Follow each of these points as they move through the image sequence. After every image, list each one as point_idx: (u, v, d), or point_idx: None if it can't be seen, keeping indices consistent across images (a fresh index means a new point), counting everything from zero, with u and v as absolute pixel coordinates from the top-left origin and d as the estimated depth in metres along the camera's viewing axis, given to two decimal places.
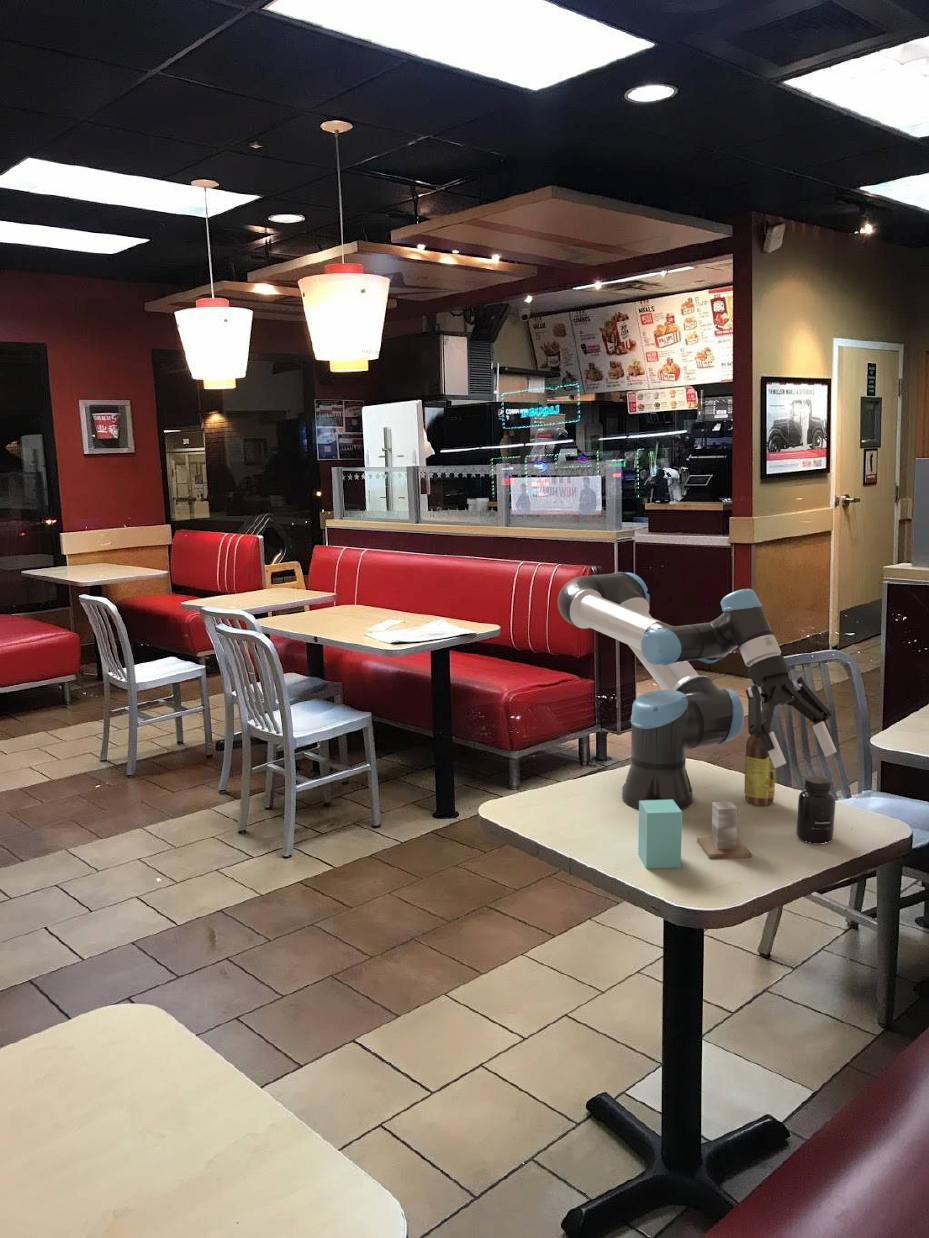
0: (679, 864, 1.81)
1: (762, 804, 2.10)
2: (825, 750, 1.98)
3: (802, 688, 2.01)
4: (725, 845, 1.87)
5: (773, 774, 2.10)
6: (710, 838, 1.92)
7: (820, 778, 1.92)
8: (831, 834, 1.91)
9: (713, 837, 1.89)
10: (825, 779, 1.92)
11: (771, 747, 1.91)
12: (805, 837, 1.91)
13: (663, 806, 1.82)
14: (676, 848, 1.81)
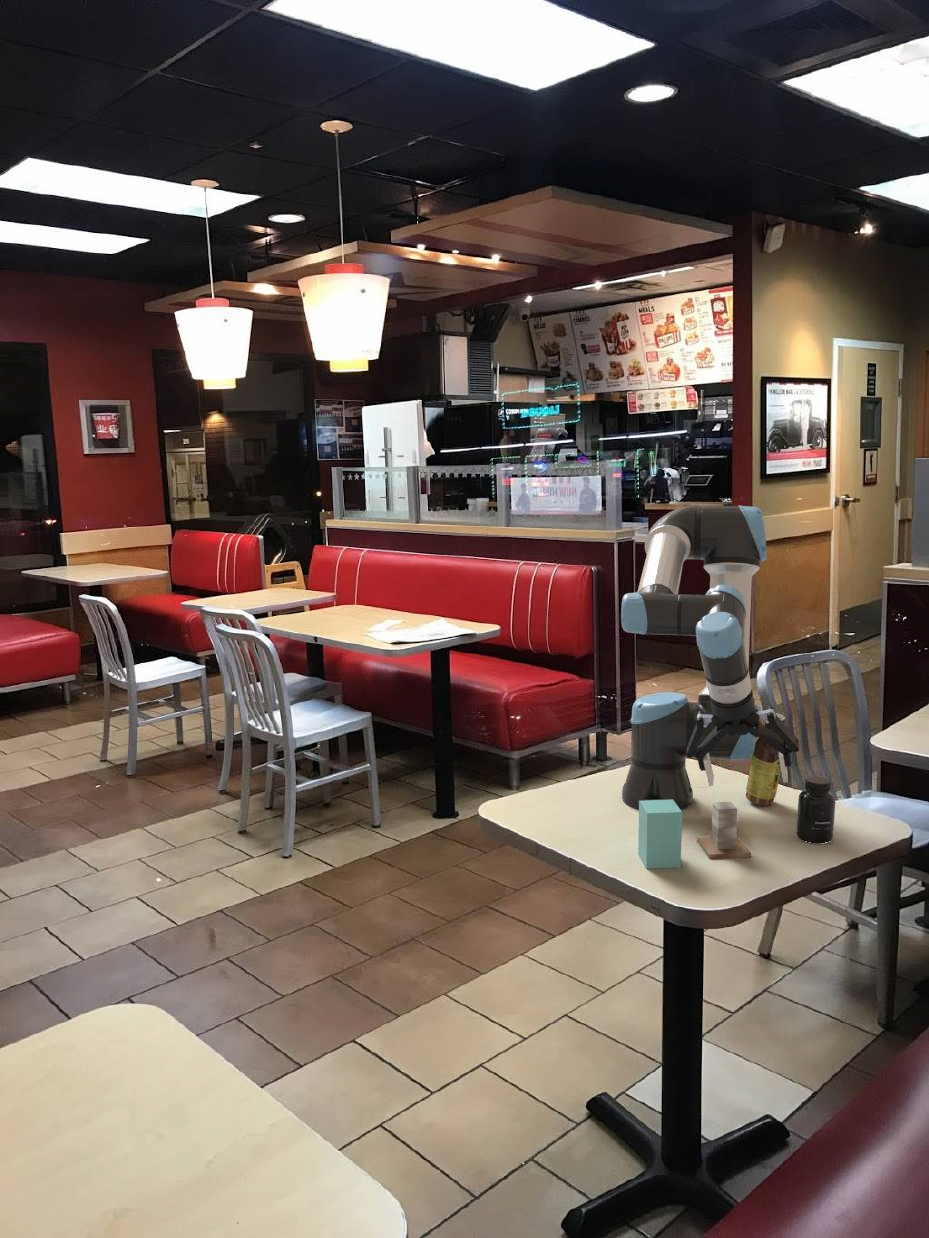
0: (679, 864, 1.81)
1: (762, 804, 2.10)
2: None
3: (769, 723, 1.77)
4: (725, 845, 1.87)
5: (778, 777, 2.09)
6: (710, 838, 1.92)
7: (820, 778, 1.92)
8: (831, 834, 1.91)
9: (713, 837, 1.89)
10: (825, 779, 1.92)
11: (702, 769, 1.88)
12: (805, 837, 1.91)
13: (663, 806, 1.82)
14: (676, 848, 1.81)
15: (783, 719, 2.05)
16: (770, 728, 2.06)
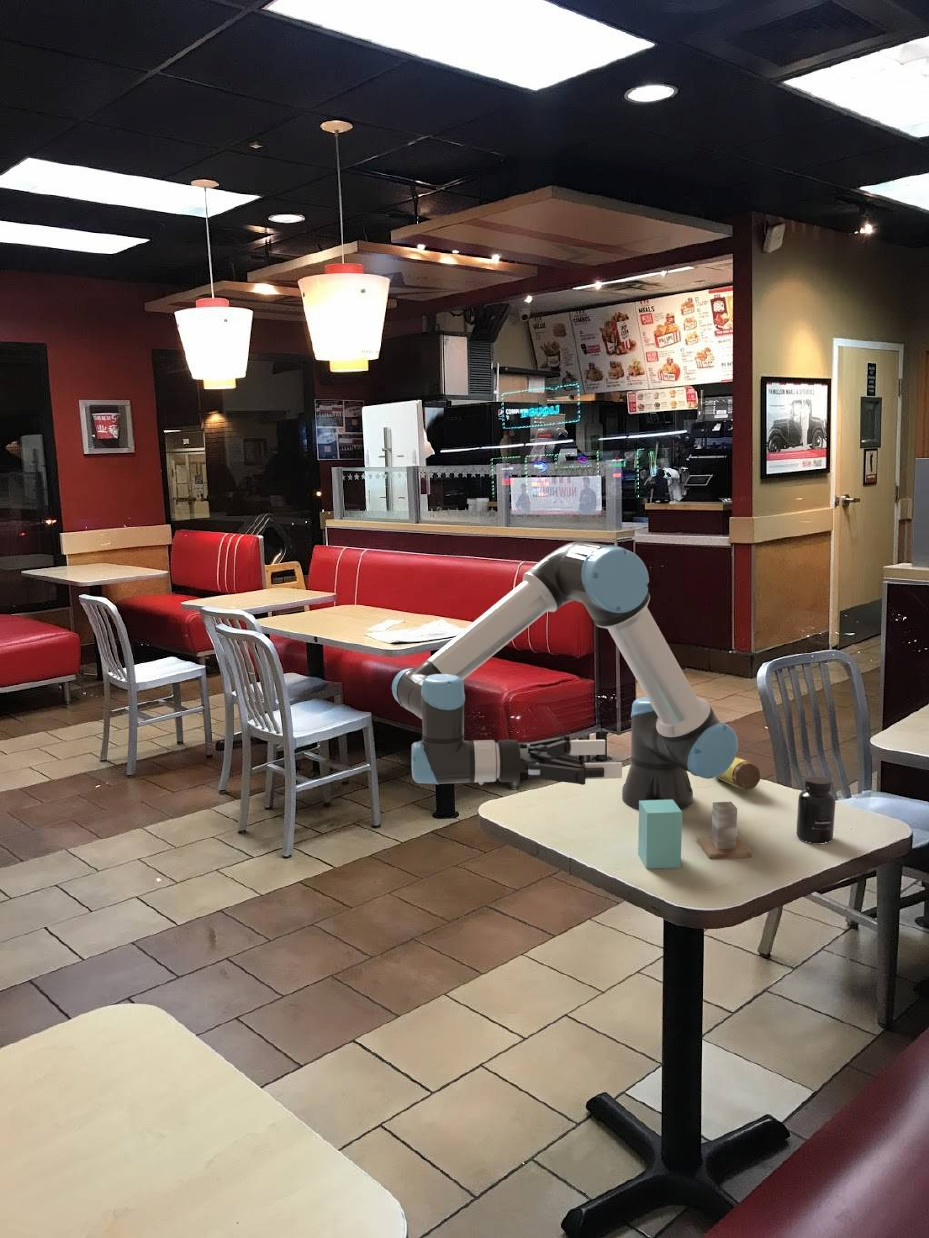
0: (679, 864, 1.81)
1: (742, 764, 2.16)
2: None
3: None
4: (725, 845, 1.87)
5: None
6: (710, 838, 1.92)
7: (820, 778, 1.92)
8: (831, 834, 1.91)
9: (713, 837, 1.89)
10: (825, 779, 1.92)
11: None
12: (805, 837, 1.91)
13: (663, 806, 1.82)
14: (676, 848, 1.81)
15: None
16: None
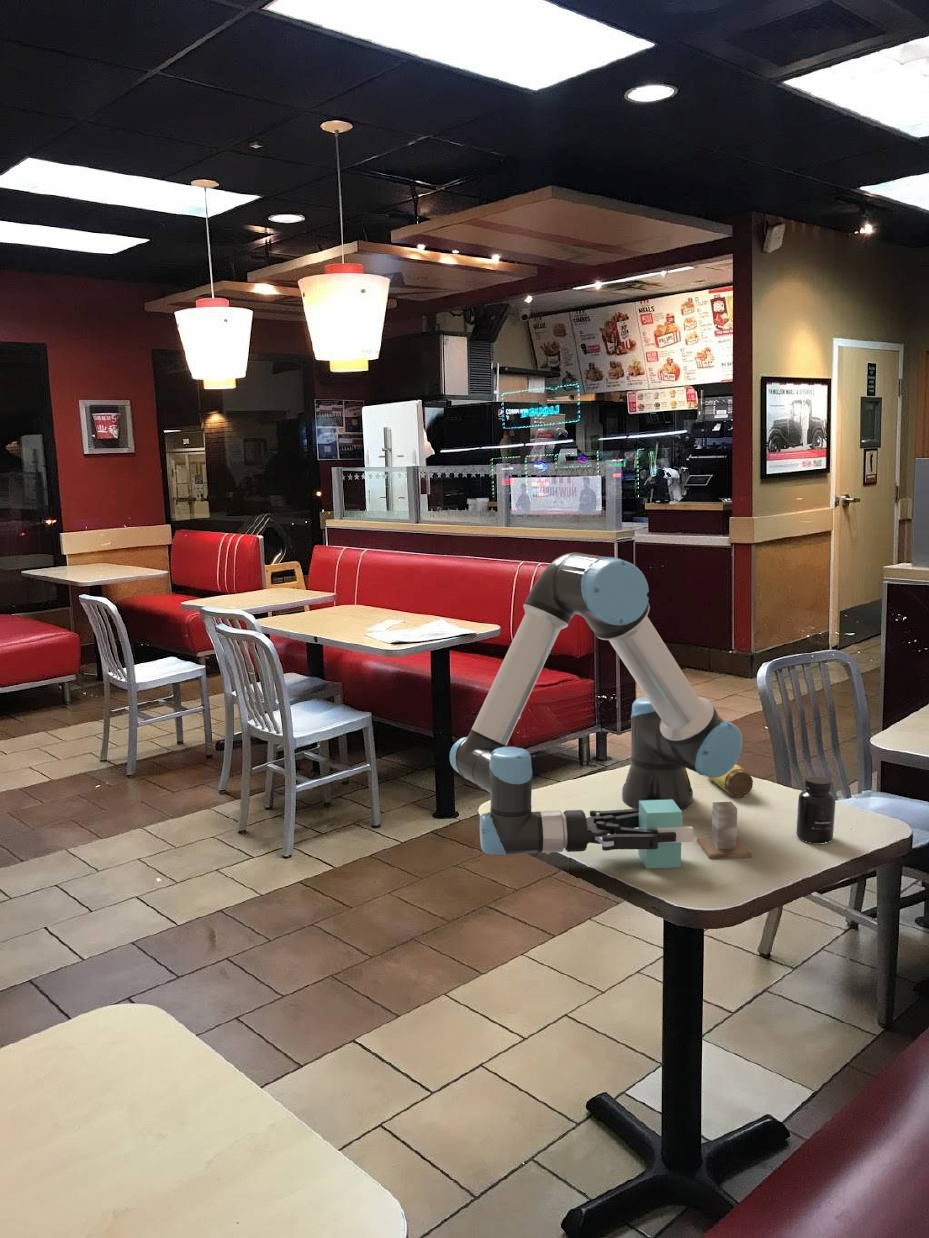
0: (679, 864, 1.81)
1: (730, 778, 2.15)
2: None
3: None
4: (725, 845, 1.87)
5: None
6: (710, 838, 1.92)
7: (820, 778, 1.92)
8: (831, 834, 1.91)
9: (713, 837, 1.89)
10: (825, 779, 1.92)
11: None
12: (805, 837, 1.91)
13: (663, 806, 1.82)
14: (676, 848, 1.81)
15: None
16: None
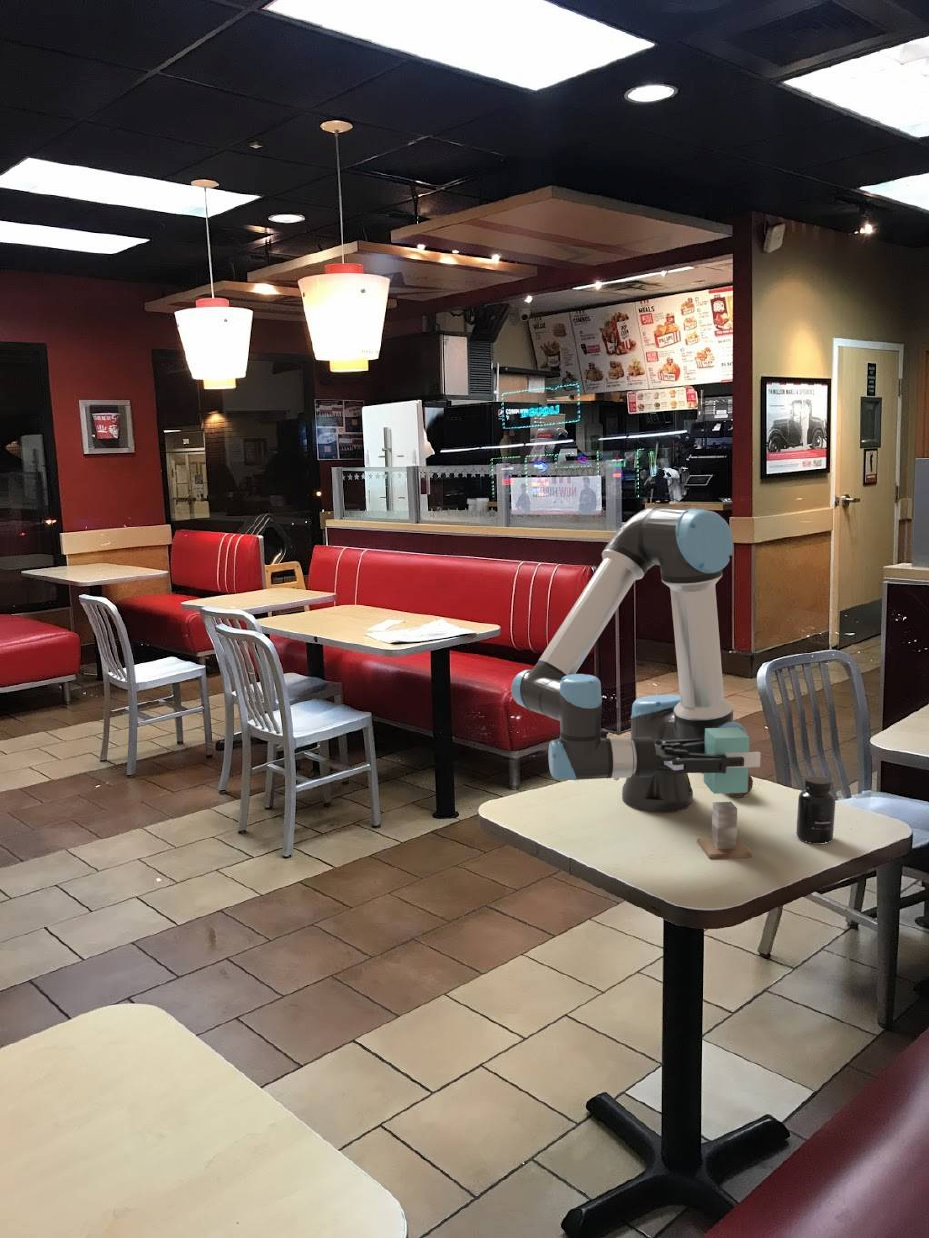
0: (746, 789, 1.84)
1: None
2: None
3: None
4: (725, 845, 1.87)
5: None
6: (710, 838, 1.92)
7: (820, 778, 1.92)
8: (831, 834, 1.91)
9: (713, 837, 1.89)
10: (825, 779, 1.92)
11: None
12: (805, 837, 1.91)
13: (730, 733, 1.85)
14: (743, 773, 1.83)
15: None
16: None
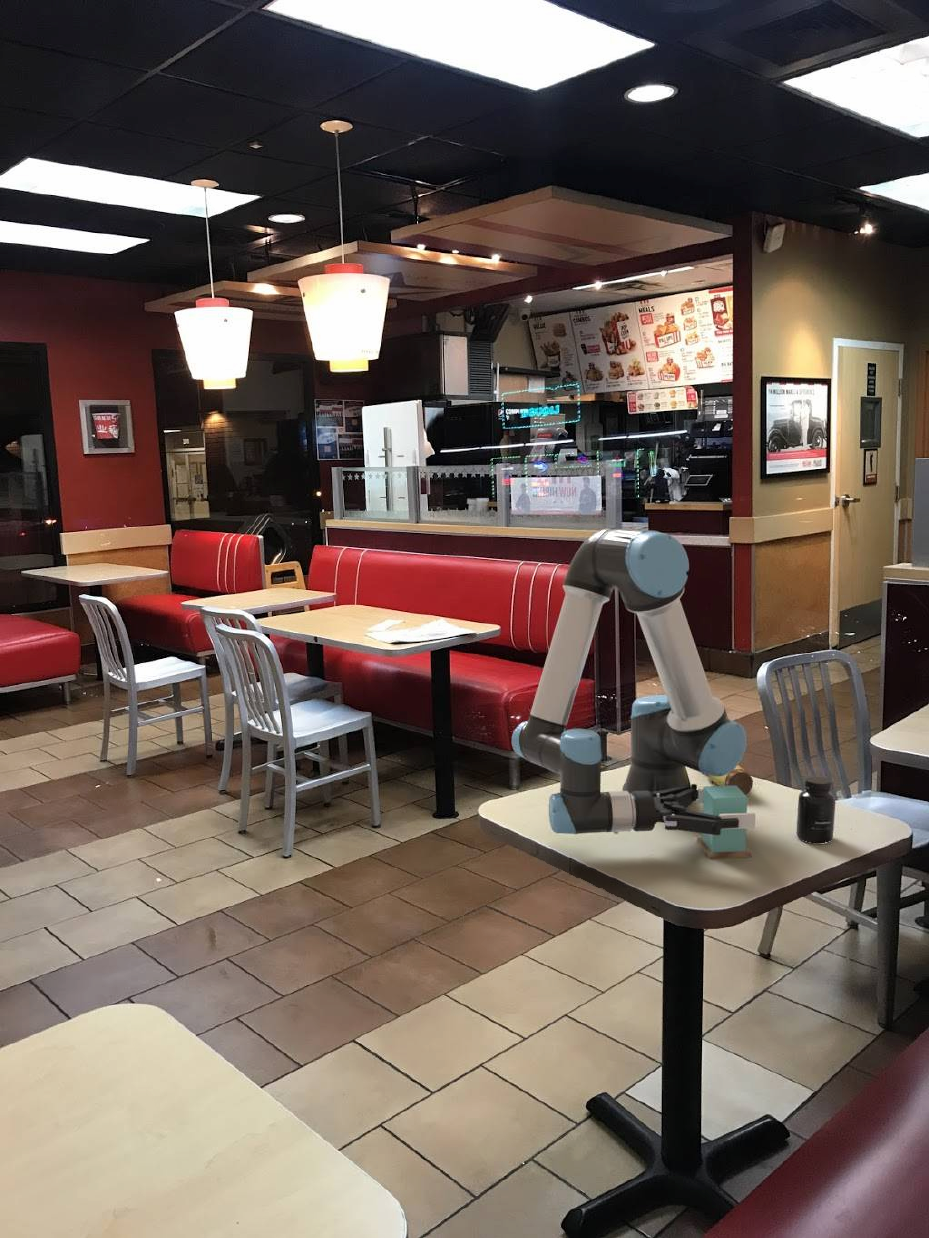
0: (744, 848, 1.86)
1: (730, 778, 2.15)
2: None
3: None
4: None
5: None
6: None
7: (820, 778, 1.92)
8: (831, 834, 1.91)
9: None
10: (825, 779, 1.92)
11: None
12: (805, 837, 1.91)
13: (728, 792, 1.87)
14: (741, 832, 1.85)
15: None
16: None
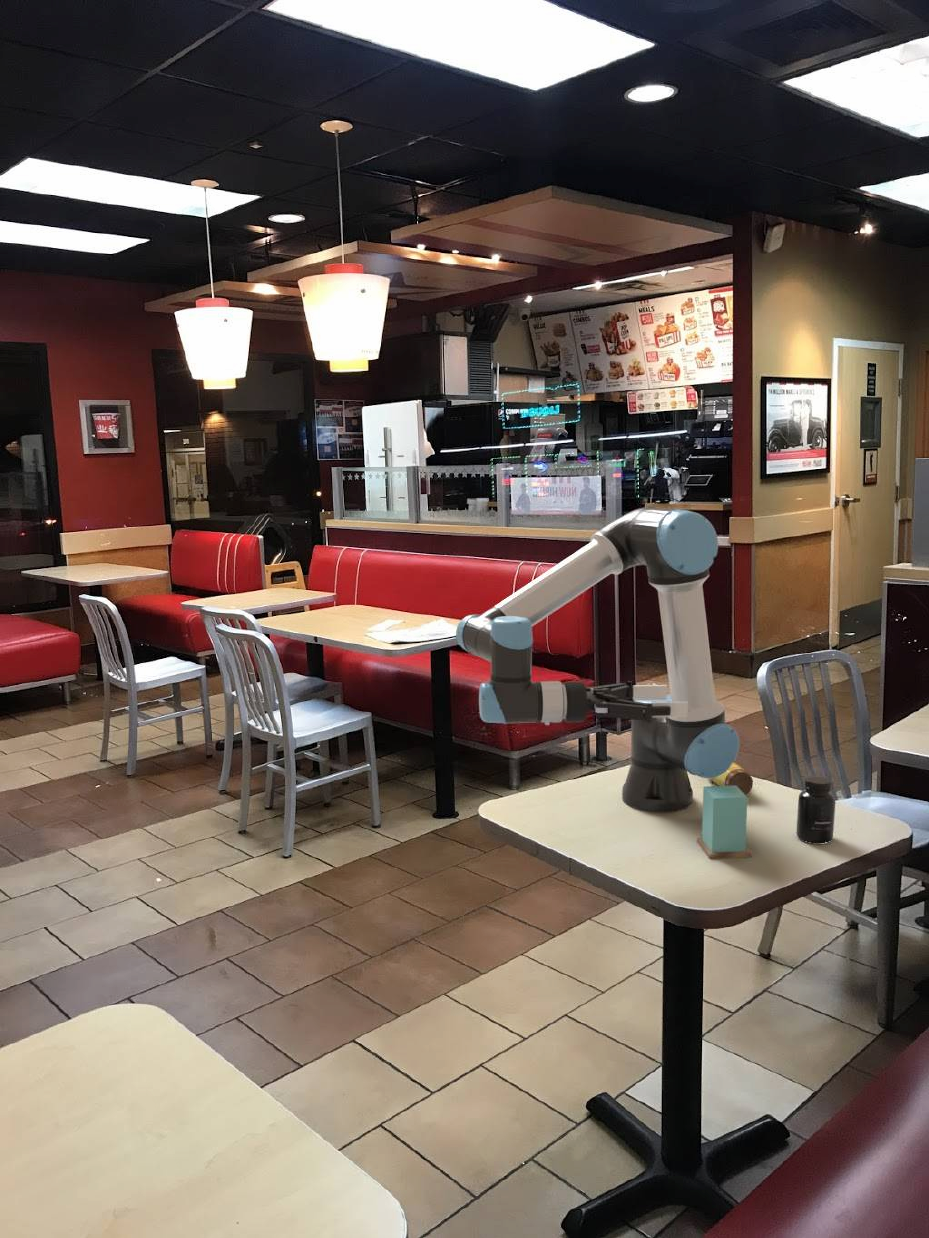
0: (744, 848, 1.86)
1: (730, 778, 2.15)
2: None
3: None
4: None
5: None
6: None
7: (820, 778, 1.92)
8: (831, 834, 1.91)
9: None
10: (825, 779, 1.92)
11: None
12: (805, 837, 1.91)
13: (728, 792, 1.87)
14: (741, 832, 1.85)
15: None
16: None
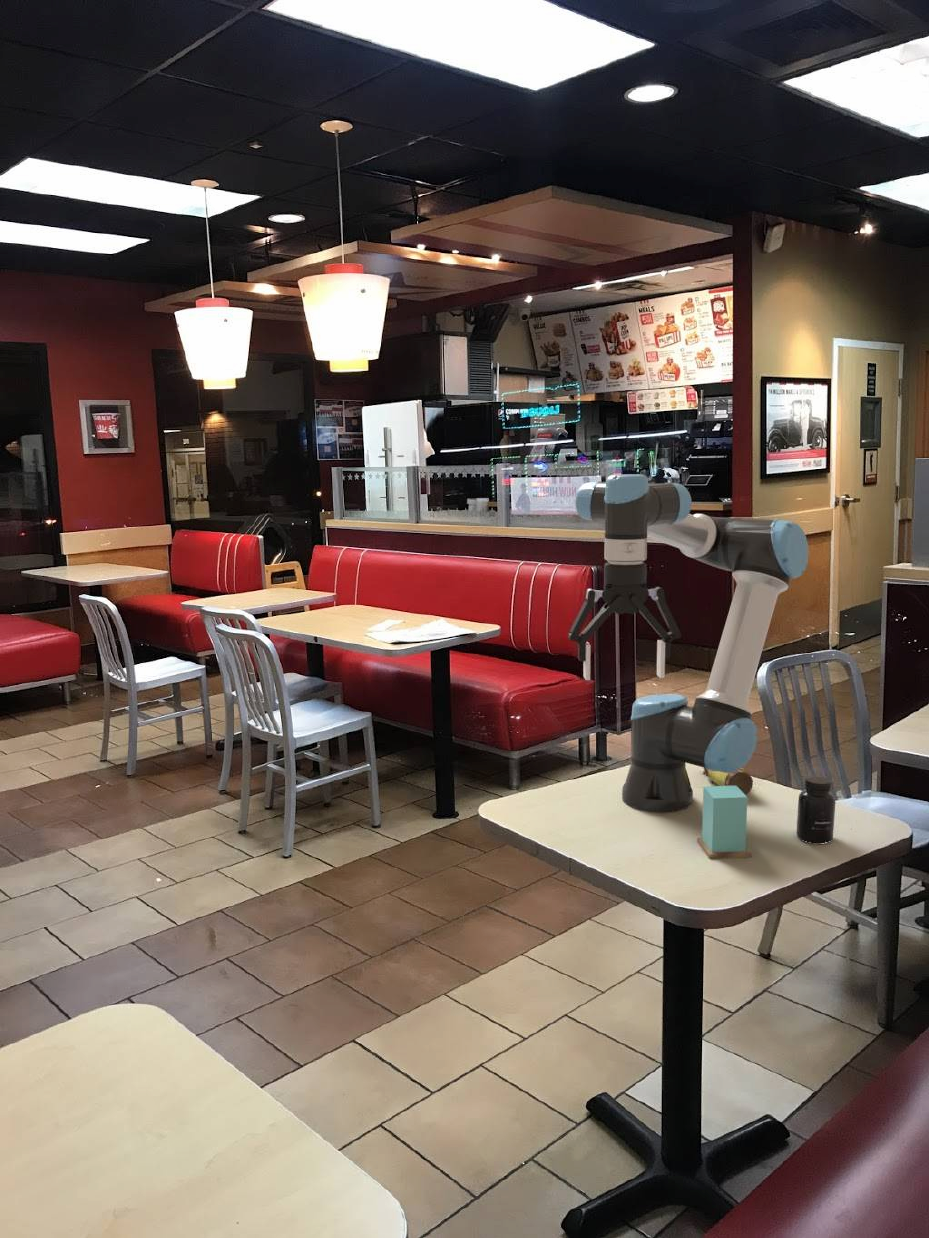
0: (744, 848, 1.86)
1: (730, 778, 2.15)
2: (657, 669, 1.81)
3: (658, 601, 1.77)
4: None
5: None
6: None
7: (820, 778, 1.92)
8: (831, 834, 1.91)
9: None
10: (825, 779, 1.92)
11: (581, 659, 1.78)
12: (805, 837, 1.91)
13: (728, 792, 1.87)
14: (741, 832, 1.85)
15: None
16: None
